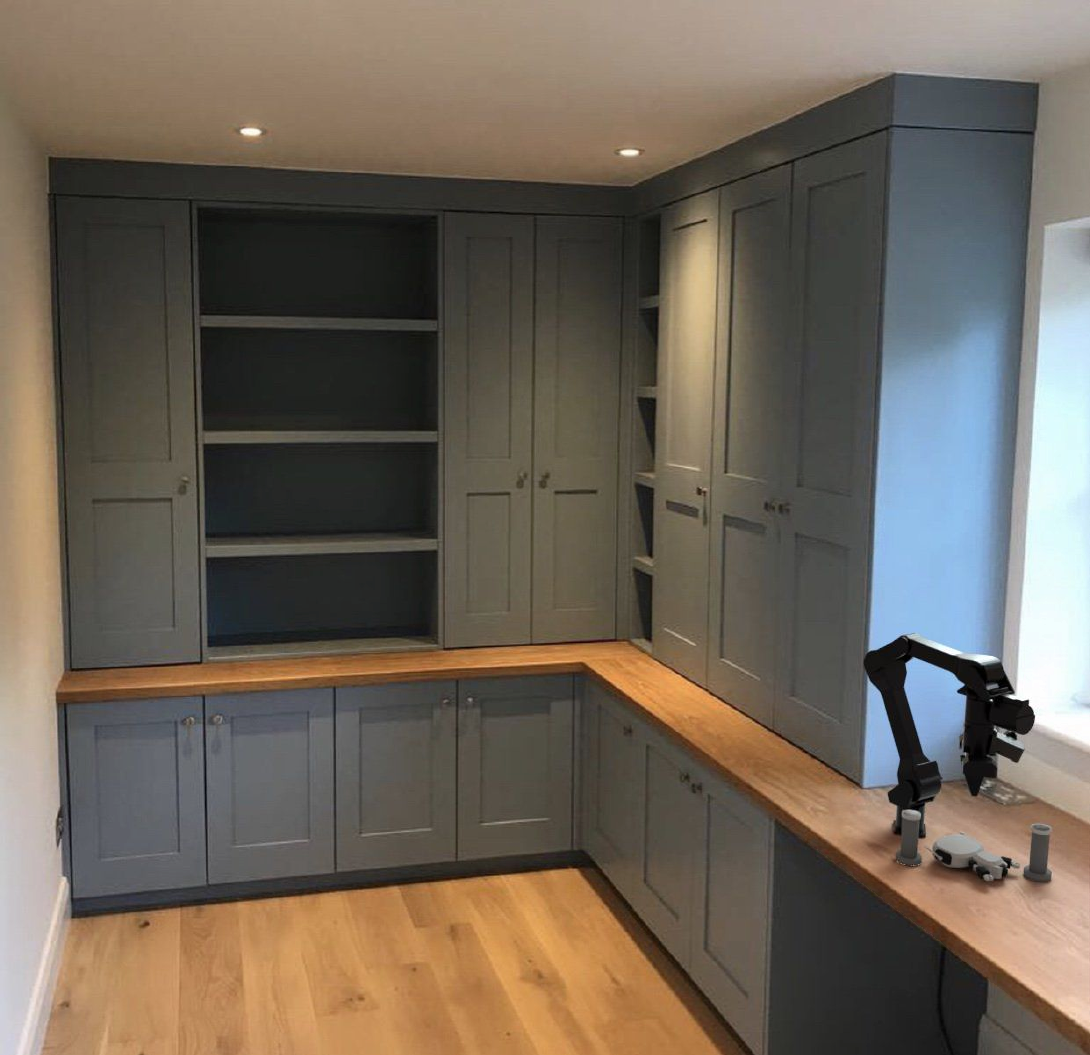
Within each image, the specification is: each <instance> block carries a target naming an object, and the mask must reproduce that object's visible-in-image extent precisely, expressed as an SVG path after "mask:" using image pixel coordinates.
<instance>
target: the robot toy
mask: <svg viewBox="0 0 1090 1055" xmlns="http://www.w3.org/2000/svg"><path fill="white" fill-rule="evenodd" d="M959 833H960V834H959ZM959 833H953V834H948V835H944V836H941V837H940V838H938V839H937V840H935V841H934V842H933V844H932V849H931V848H930V847H929V846H927V845H924V848H925V850H927V851H929V852H930V853H931V855H932V856H933V858H934V859H935V860H936V861H938V862H940V863H941V864H942V865H943V866H945V867H946V866H947V867H946V868H954V869H955V868H957V869H963V868H968V867H969V868H970V869H972V871H974V872H975V874H976V876H977V877H978V878H980V880H983V881H986V882H990V881H991V882H993V881H994V880H995V879H996V880H998V879H999V880H1001V879H1002V878H1005V877H1007V876H1008V874H1009V870H1010V869H1011V867H1012V868H1013V869H1017V870H1018V869H1020V867H1021V863H1020V862H1019V861H1013V859H1012V858H1011V857H1006V856H1003V855H1002V856H1000V855H998V854H995V853H994V852H993V853H992V852H990V851H987V850H985V847H984V845H983V843H982V842H981V841H979V840H977V839H975V838H973V837H971V836H968V835H966V833H964V832H963V831H960V830H959ZM1008 869H1009V870H1008Z"/></svg>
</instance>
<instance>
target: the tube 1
mask: <svg viewBox="0 0 1090 1055" xmlns="http://www.w3.org/2000/svg"><path fill="white" fill-rule="evenodd" d="M902 817H903V820H902V834H901V838H900V839H901V840H900V849H899V850H898V851H896V852H895V858H894V860H895V859H896V860H895V862H896V861H898V862H899V863H902V864H905V865H912V866H911V867H914V866H913V865H918V864H920V863H921V864H922V861H923V856H922V854H920V853H919V852H918V848H919V847H918V846H919V836H918V835H919V820H920V819H921V813H920V812H918V811H915V810H903V811H902ZM899 863H898V864H899ZM905 865H904V866H905Z"/></svg>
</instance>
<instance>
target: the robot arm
mask: <svg viewBox="0 0 1090 1055" xmlns="http://www.w3.org/2000/svg"><path fill="white" fill-rule="evenodd" d="M914 658H915V659H917V660H920V661H922V662H925V663H927V664H930V665H933V666H934V667H937V668H939V669H942V670H945V671H947V672H950V673H951V674H952V675H954V677H955V678H956V679H957V680H958V682H960V683H962V684H963V686H962V687H960V688H958V689H956V693H957V694H958V695H959V694H960V695H963V696H965V710H964V720H963V732H962V733H961V734H960V735H959V736H958V743H957V744H958V749H960V750H962V753H964V754H960V755H959V758H960V765H961V766H960V767H961V771H962V775H964V779H965V781H966V784H967V786H968V790H969V792H970V795H971V797H975V798H976V797H978V795H979V793H980V791H981V790H980V789H981V786H982V784H983V781H984V779H985V778H990V779H996V778H998V765H997V762H996V761H995V760H994V759H993V757H996V756H997V755H999V756H1001V757H1004V758H1006V759H1009V760H1010V761H1011V762H1013V763H1015V764H1016V763H1017V764H1018V763H1020V760H1021V758H1022V756H1023V754H1024V752H1025V750H1026V748H1025V744H1024V743H1023V742H1022V740H1020V739H1018V735H1021V736H1025V735H1027V734H1029V732H1031V731H1032V729H1033V727H1034V724H1035V722H1036V721H1035V720H1036V714H1035V711H1034V708H1033V707H1032V706H1030V700H1029V699H1028V698H1025V697H1019V696H1015V694H1016V691H1015V689H1014V687H1013V686H1012V684H1011V681H1010V679H1009V677H1008V675H1007V673H1006V671H1005V669H1004V666H1003V664H1002V661H1001V660H1000V659H999V658H997V657H996V656H992V655H988V654H987V655H986V654H981V653H979V654H978V653H968V652H967V653H966V652H962V651H961V650H957V649H955V648H951V647H949V646H947V645H945V644H941V643H939V642H936V641H935V640H931V639H929V638H925V637H924V636H922V635H921V634H919V633H914V632H913V633H908V634H902V635H900V636H898V637H896V639H894V640H893V641H891V642H889V643H888V644H885V645H883V646H881V647H879V648H878V649H873V650H869V651H868V652H867V653H866V654H865V657H864V659H863V668H864V671H865V672H866V675H867V678H868V680H869V682H870V684H872V685H873V686H874V687H875V688H876V689H877V691H879V693H880V695H881V698H882V701H883V705H884V710H885V712H886V716H887V720H888V723H889V726H890V730H891V733H892V737H893V739H894V744H895V747H896V750H897V754H898V758H899V762H898V765H897V766H898V767H897V771H896V778H897V783H898V784H897V785H896V786H894V787H893V788H892V789H890V790H889V791H887V793H886V795H887V798H888V802H889V803H890V804H892V805H894V806H896V813H895V816H896V817H895V819H893V821H892V822H893V823H892V824H893V834H895V835H897V834H898V835H902V820H903V817H902V811H903V810H915V811H918V812H920V813H921V819H920V820H919V835H918V837H919V838H920V837H921V838H926V837H927V831H926V830H927V829H926V828H927V827H926V823H925V816H926V815H925V813H926V804H928V803H932V802H934V801H935V799H936V797H937V795H938V794H939V793H940V790H942V781H941V780H943V779H944V778H943V777H942V775H941V774H940V769H939V764H938V761H937V760H936V759H934V760H930V759H929V758H928V757H927V756H926V755H925V753H924V751H923V747H922V744H921V741H920V737H919V734H918V730H917V727H916V724H915V720H914V717H913V713H912V710H911V706H910V703H909V700H908V699H909V698H908V697H907V693H906V689H905V683H906V679H907V675H908V674H907V673H908V671H907V663H909V662H911V660H913V659H914ZM994 686H997V687H994ZM990 687H994V688H990ZM988 688H989V689H988ZM996 728H1000V729H1003V730H1005V732H1002V731H1001V732H998V730H997V729H996Z"/></svg>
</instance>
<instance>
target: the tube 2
mask: <svg viewBox="0 0 1090 1055" xmlns="http://www.w3.org/2000/svg"><path fill="white" fill-rule="evenodd" d="M1030 830H1031V837H1030V839H1031V840H1030V851H1029V852H1030V854H1029V865H1025V866H1024V867H1023V876H1024V877H1025V878H1026V879H1027V880H1030V881H1032V882H1037V883H1048V882H1050V881H1052V870H1050V869H1049V868H1048V860H1049V849H1050V848H1049V847H1050V837H1051V834H1052V827H1051V826H1050V825H1046V824H1043V823H1034V824H1033V823H1032V824H1031V826H1030Z"/></svg>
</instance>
